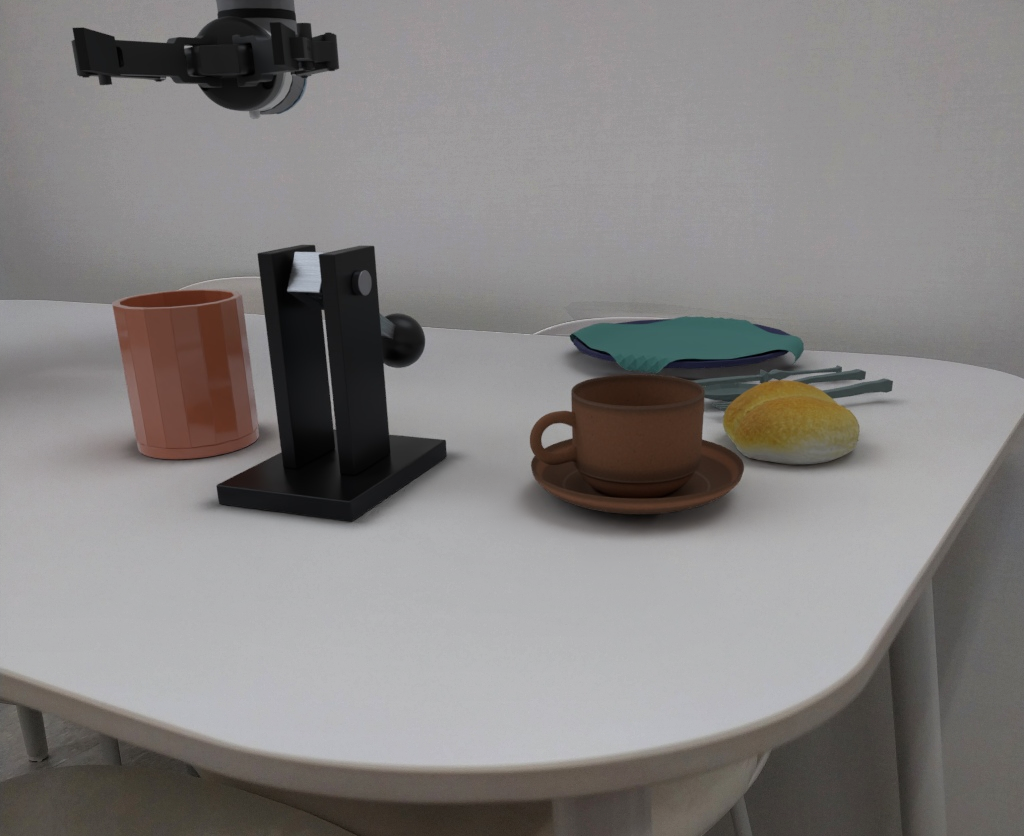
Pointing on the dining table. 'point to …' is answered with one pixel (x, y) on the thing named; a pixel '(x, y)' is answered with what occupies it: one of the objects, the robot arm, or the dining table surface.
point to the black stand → (328, 397)
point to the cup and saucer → (634, 448)
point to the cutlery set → (710, 353)
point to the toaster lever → (397, 330)
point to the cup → (187, 372)
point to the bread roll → (790, 424)
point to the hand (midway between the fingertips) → (179, 46)
